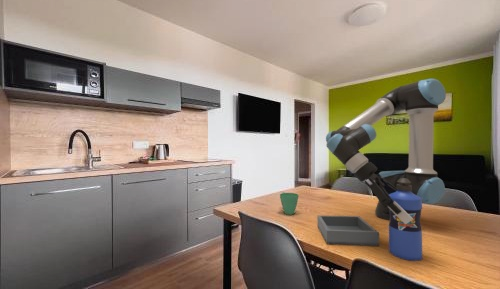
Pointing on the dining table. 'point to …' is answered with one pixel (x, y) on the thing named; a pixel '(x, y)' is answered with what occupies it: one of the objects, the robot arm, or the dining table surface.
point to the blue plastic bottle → (406, 235)
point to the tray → (347, 231)
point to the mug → (289, 202)
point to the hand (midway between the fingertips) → (412, 216)
